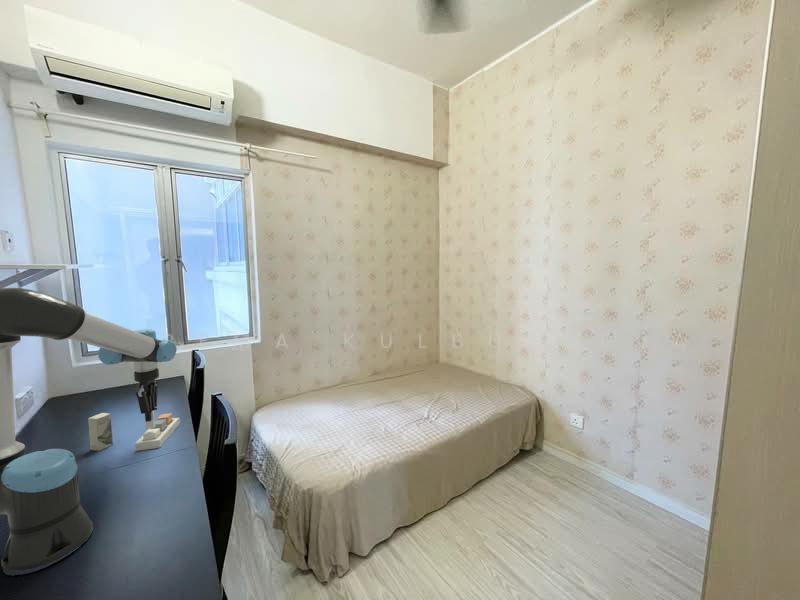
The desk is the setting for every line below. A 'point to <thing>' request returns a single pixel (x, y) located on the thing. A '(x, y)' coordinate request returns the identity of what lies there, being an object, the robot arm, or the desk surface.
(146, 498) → the desk surface
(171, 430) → the keypad housing
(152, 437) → the key ivory
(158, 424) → the key slate
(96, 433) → the box
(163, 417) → the key terracotta
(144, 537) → the desk surface
